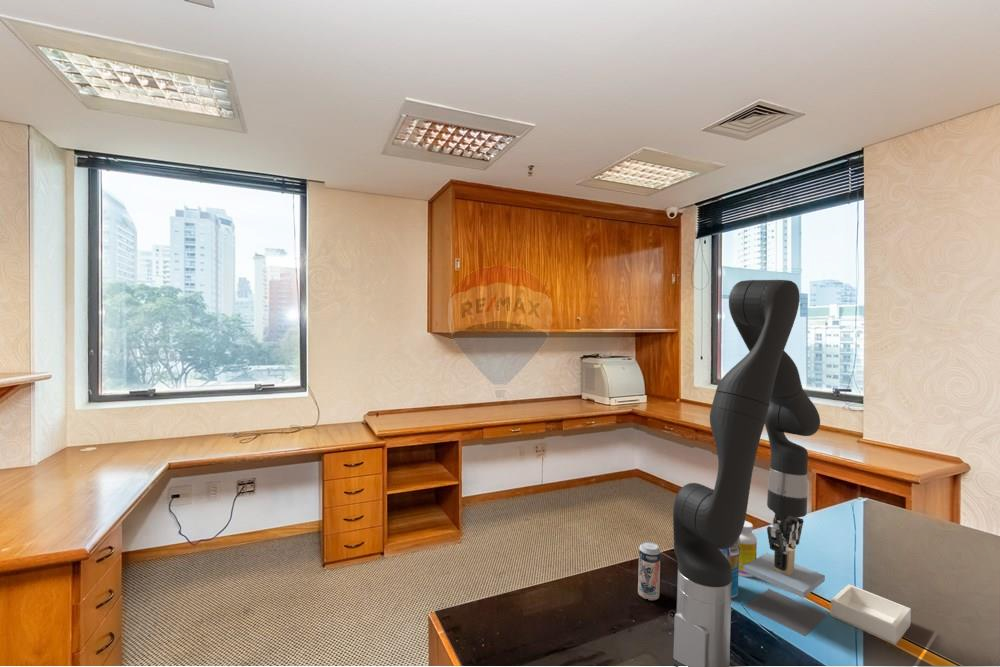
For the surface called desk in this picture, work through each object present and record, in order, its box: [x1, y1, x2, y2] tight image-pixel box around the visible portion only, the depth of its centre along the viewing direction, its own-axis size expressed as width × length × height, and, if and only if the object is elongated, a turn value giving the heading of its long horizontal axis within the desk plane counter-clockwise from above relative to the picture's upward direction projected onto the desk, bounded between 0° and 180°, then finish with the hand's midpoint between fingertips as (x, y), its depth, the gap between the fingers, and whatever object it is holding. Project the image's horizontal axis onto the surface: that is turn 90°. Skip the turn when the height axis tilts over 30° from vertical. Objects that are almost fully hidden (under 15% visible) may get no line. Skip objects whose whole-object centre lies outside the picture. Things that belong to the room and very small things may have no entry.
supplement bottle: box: [738, 520, 758, 578], centre depth 116 cm, size 7×7×13 cm
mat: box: [744, 588, 828, 637], centre depth 99 cm, size 12×12×1 cm
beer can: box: [637, 541, 661, 601], centre depth 104 cm, size 5×5×12 cm
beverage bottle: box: [719, 538, 740, 599], centre depth 107 cm, size 8×8×20 cm
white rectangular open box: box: [830, 583, 912, 646], centre depth 96 cm, size 11×11×4 cm
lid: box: [743, 547, 826, 599], centre depth 99 cm, size 12×12×6 cm
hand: (783, 566), depth 99 cm, fingers closed on lid, 3 cm apart
